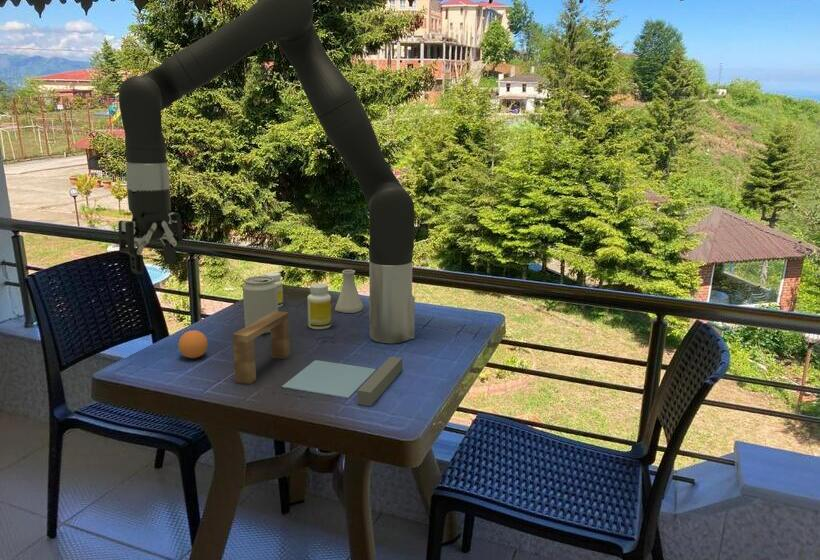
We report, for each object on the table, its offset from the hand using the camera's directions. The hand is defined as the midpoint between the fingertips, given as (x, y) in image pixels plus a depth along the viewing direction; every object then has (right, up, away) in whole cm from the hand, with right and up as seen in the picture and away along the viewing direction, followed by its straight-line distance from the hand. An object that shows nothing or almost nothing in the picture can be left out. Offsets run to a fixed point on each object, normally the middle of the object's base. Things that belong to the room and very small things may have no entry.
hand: (154, 268), depth 120 cm
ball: (+7, -15, +1) cm, 17 cm away
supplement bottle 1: (+16, -9, +36) cm, 40 cm away
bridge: (+23, -19, -4) cm, 30 cm away
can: (+17, -14, +18) cm, 28 cm away
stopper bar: (+45, -21, -11) cm, 51 cm away
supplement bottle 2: (+30, -13, +20) cm, 38 cm away
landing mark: (+36, -20, -8) cm, 42 cm away
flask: (+35, -10, +33) cm, 49 cm away
